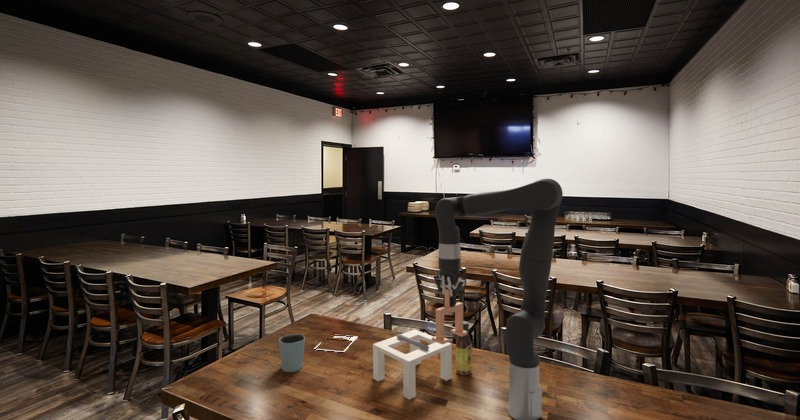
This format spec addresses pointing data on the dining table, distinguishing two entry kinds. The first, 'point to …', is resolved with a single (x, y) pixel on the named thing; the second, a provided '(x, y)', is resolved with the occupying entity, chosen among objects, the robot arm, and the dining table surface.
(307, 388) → the dining table surface
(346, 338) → the white thin flat frame
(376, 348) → the small white table
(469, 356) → the sauce bottle
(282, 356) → the blue grey cup
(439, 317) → the tan wooden branched piece
